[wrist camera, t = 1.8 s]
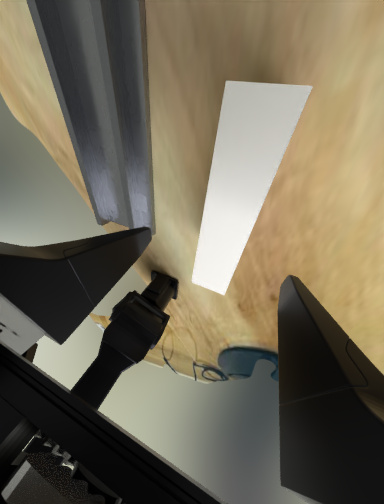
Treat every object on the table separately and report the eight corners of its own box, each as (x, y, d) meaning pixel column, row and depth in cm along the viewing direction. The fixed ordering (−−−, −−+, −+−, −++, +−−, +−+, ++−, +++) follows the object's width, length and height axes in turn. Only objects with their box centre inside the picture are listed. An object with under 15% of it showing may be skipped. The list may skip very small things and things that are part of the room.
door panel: (236, 254, 23) (224, 295, 17) (210, 246, 24) (190, 281, 18) (292, 111, 13) (313, 86, 7) (244, 106, 14) (225, 80, 8)
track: (155, 233, 26) (145, 241, 24) (102, 215, 29) (89, 221, 27) (142, -38, 11) (114, -78, 9) (33, -23, 14) (-8, -52, 12)
